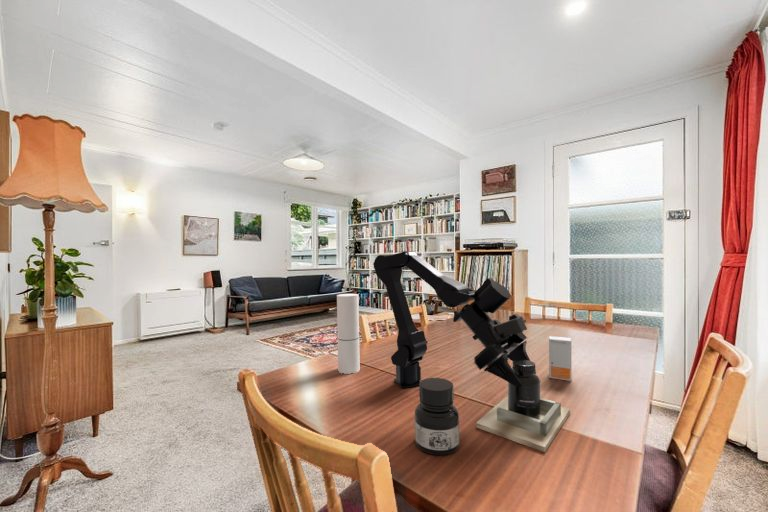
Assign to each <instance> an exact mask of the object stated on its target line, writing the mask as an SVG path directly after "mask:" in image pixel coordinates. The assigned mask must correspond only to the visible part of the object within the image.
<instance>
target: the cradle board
mask: <svg viewBox="0 0 768 512" xmlns="http://www.w3.org/2000/svg"><path fill="white" fill-rule="evenodd" d="M561 405H562V404H561V402H559V401H555V400H550V399H547V398H543V397H540V418H539V419H535V418H532V417H528V416H525V415H522V414H519V413H515V412H512V411H509V410H508V395H506V396H505V397H503V399H502V400H501V401H499V402H498V403H497V404H496V405H495V406H493V408H491V409H490V410H489V411H488V412H487V413H486V414H484V415H483V416H482V417H481V418H480V419H479V420H478V421H476V422H475V428H477V429H479V430H483V431H485V432H488V433H490V434H493V435H496V436H498V437H502V438H504V439H507V440H510V441H513V442H514V443H518V444H521V445H524V446H526V447H529V448H532V449H534V450H537V451H539V452H542V453H546V451H547V450H548V448H549V447H550V446H551V444H552V442H553V440H554V439H555V438H556V436H557V434H558V433H559V431H560V429H561V428H562V427H563V425H564V424H565V422H566V420H567V418H568V417H569V416H570V414H571V408H568V407H565V406H561Z"/></svg>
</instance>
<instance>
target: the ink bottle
mask: <svg viewBox="0 0 768 512" xmlns="http://www.w3.org/2000/svg"><path fill="white" fill-rule="evenodd" d="M418 391H419V392H418V393H419V395H418V396H419V403H418V404H417V406H415V409H414V441H415V445H416V446H417V447H418V449H419V450H420V451H422V452H424V453H427V454H430V455H436V456H445V455H451V454H453V453H455V452H456V451H457V450H459V449H458V448H459V446H460V414H459V411H458V409H457V408H456V406H455V405H454V395H455V393H454V384H453V382H452V381H450V380H449V379H445V378H441V377H430V378H429V377H428V378H424V379H421V380H420V382H419V390H418Z"/></svg>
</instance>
